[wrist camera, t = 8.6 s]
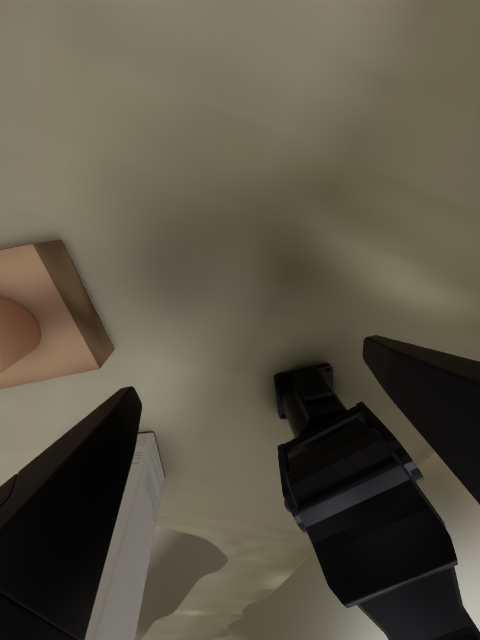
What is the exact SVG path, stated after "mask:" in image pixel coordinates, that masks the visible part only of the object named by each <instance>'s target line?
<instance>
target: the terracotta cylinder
mask: <svg viewBox="0 0 480 640" xmlns="http://www.w3.org/2000/svg"><path fill="white" fill-rule="evenodd" d="M40 337H41V333H40V328H39V326H38V323H37V322H36V320H35V318H34V317H33V316H32V315H31V313H30V312H29V311H27V310H26V309H25V308H24V307H23V306H21V305H20V304H18V303H17V302H15V301H13V300H11V299H8V298H5V297H2V296H0V374H1V373H2V372H4V371H5V370H7V369H8V368H9V367H11V366H12V365H14V364H15V363H16V362H18V361H19V360H21V359H22V358H24V357H25V356H26V355H28V354H29V353H31V352H32V351H33V350H35V349H36V347H37V346H38V344H39V342H40Z"/></svg>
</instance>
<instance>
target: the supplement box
mask: <svg viewBox="0 0 480 640" xmlns="http://www.w3.org/2000/svg"><path fill="white" fill-rule="evenodd" d="M163 483H164V473H163V469H162V465H161V461H160V457H159V453H158V449H157V445H156V441H155V437H154V433H153V432H152V433H142V434H138V437H137V443H136V448H135V452H134V456H133V460H132V464H131V468H130V471H129V475H128V479H127V483H126V486H125V490H124V494H123V498H122V501H121V505H120V509H119V513H118V516H117V520H116V524H115V528H114V531H113V535H112V539H111V543H110V547H109V550H108V554H107V558H106V562H105V565H104V569H103V573H102V577H101V580H100V584H99V588H98V592H97V595H96V599H95V603H94V607H93V610H92V614H91V618H90V622H89V625H88V629H87V633H86V637H85V640H135V634H136V629H137V623H138V618H139V613H140V607H141V602H142V596H143V591H144V585H145V579H146V575H147V569H148V564H149V558H150V553H151V548H152V542H153V537H154V531H155V526H156V521H157V515H158V510H159V504H160V499H161V494H162V488H163Z"/></svg>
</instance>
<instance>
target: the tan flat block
mask: <svg viewBox="0 0 480 640" xmlns="http://www.w3.org/2000/svg"><path fill="white" fill-rule="evenodd" d="M0 296H2V297H5V298H8V299H11V300H13V301H15V302H17V303H18V304H20V305H21V306H23V307H24V308H25V309H26V310H27V311H29V312H30V313H31V315H32V316H33V317H34V318H35V320H36V322H37V323H38V326H39V328H40V333H41V337H40V342H39V344H38V346H37V347H36V349H35V350H33V351H32V352H31V353H29V354H28V355H26V356H25V357H24V358H22V359H21V360H19V361H18V362H16V363H15V364H14V365H12V366H11V367H9V368H8V369H7V370H5V371H4V372H2V373H1V374H0V389H4V388H8V387H13V386H18V385H23V384H28V383H33V382H38V381H43V380H47V379H52V378H57V377H62V376H67V375H72V374H77V373H82V372H86V371H91V370H96V369H100V368H101V366H102V365H103V364H104V362H105V361H106V360H107V359H108V357H109V356H110V355H111V353H112V352H113V351H114V348H113V346H112V344H111V342H110V340H109V338H108V336H107V334H106V332H105V330H104V328H103V325H102V323H101V321H100V319H99V317H98V315H97V313H96V311H95V309H94V307H93V305H92V303H91V301H90V299H89V296H88V294H87V292H86V290H85V288H84V286H83V284H82V282H81V280H80V278H79V276H78V274H77V272H76V269H75V267H74V265H73V263H72V261H71V259H70V257H69V255H68V253H67V251H66V249H65V247H64V245H63V243H62V240H59V241H51V242H44V243H36V244H30V245H24V246H19V247H14V248H8V249H3V250H0Z"/></svg>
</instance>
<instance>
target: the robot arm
mask: <svg viewBox="0 0 480 640" xmlns="http://www.w3.org/2000/svg"><path fill="white" fill-rule="evenodd" d="M363 359H364V361H365V363H366V364H367V366H368V367H369V369H370V370H371V371H372V373H373V374H374V376H375V377H376V379H377V380H378V382H379V383H380V385H381V386H382V388H383V389H384V390H385V392H386V393H387V394H388V396H389V397H390V398H391V399H392V401H393V402H394V403H395V404H396V405H397V407H398V408H399V409H400V410H401V411H402V412H403V414H404V415H405V416H406V417H407V418H408V420H409V421H410V422H411V423H412V424H413V426H414V427H415V428H416V429H417V430H418V432H419V433H420V434H421V435H422V436H423V437H424V439H425V440H426V441H427V442H428V443H429V445H430V446H431V447H432V448H433V449H434V451H435V452H436V453H437V454H438V455H439V456H440V458H441V459H442V460H443V461H444V462H445V464H446V465H447V466H448V467H449V468H450V470H451V471H452V472H453V473H454V474H455V476H456V477H457V478H458V479H459V480H460V481H461V482H462V484H463V485H464V486H465V487H466V489H467V490H468V491H469V492H470V493H471V495H472V496H473V497H474V498H475V499H476V500H477V502H478V503H479V504H480V362H479V361H475V360H471V359H467V358H463V357H459V356H455V355H451V354H448V353H444V352H440V351H436V350H432V349H428V348H424V347H420V346H416V345H413V344H409V343H405V342H401V341H397V340H393V339H389V338H385V337H381V336H377V335H374V336H369V337H366V338H365V339H364V344H363ZM327 368H328V369H327ZM278 378H280V379H279V380H277V379H278ZM274 384H275V392H276V399H277V407H278V414H279V417H280V419H288V421H289V424H290V427H291V429H292V432H293V434H294V437H295V438H294V439H293V440H291V441H289V442H287V443H285V444H281V445H279V446H278V454H279V455H278V459H279V467H280V475H281V484H282V492H283V496H284V498H285V499H284V503H285V507H286V509H287V510H288V511H289V512H290V513H292V515H293V517H294V519H295V521H296V523H297V524H298V526H299V527H300V529H301V530H302V531H303V532H304V533H306V534H307V533H308V535H309V537H310V540H311V542H312V544H313V547H314V549H315V552H316V555H317V557H318V560H319V562H320V565H321V568H322V571H323V573H324V576H325V579H326V581H327V584H328V586H329V587H330V589H331V590H332V591H333V593H334V594H335V595H336V596H337V597H338V599H339V600H340V601H341V603H342V604H343V605H344V606H345V607H346V608H350V607H352V606H354V605H357V606H358V607H359V608H360V609H361V610H362V611H363V612H364V613H365V614H366V615H367V616H368V617H369V618H370V619H371V620H372V621H373V622H374V623H375V624H376V625H377V626H378V627H379V628H380V629H381V630H382V631H383V632H384V633H385V635H386V636H387V638H388V639H389V640H480V632H479V630H478V628H477V627H476V625H475V624H474V622H473V621H472V619H471V618H470V616H469V615H468V613H467V612H466V610H465V608H464V607H463V604H462V599H461V595H460V590H459V586H458V581H457V577H456V572H455V568H454V566H455V565H457V564H458V562H457V557H456V554H455V550H454V547H453V544H452V540H451V537H450V535H449V533H448V532H447V530H446V528H445V524H444V522H443V521H442V519H441V517H440V516H439V514H438V513H437V512H436V510H435V509H434V507H433V506H432V505H431V503H430V502H429V500H428V499H427V498H426V496H425V495H424V493H423V492H422V491H421V489H420V488H419V487H418V485H417V483H418V482H420V481H422V480H424V477H423V475H422V474H421V472H420V470H419V469H418V467H417V466H416V464H415V463H414V461H413V460H412V459H411V457H410V456H409V454H408V453H407V452H406V450H405V449H404V448H403V446H402V445H401V444H400V443H399V441H398V440H397V439H396V438H395V436H394V435H393V434H392V433H391V432H390V431H389V430H388V429H387V427H386V426H385V425H384V424H383V423H382V422H381V421H380V420H379V419H378V418H377V417H376V416H375V415H374V414H373V413H372V412H371V411H370V409H369V408H368V407H367V406H366V405H365V404H364V403H363V402H362V401H361V402H360V403H358V404H356V406H355V407H353V408H351V409H349V410H347V409H346V407H345V406H344V405H343V403H342V402H341V400H340V399H339V398H338V396H337V395H336V393H335V392H334V391H333V368H332V366H331V365H330V364H323V365H319V366H314V367H309V368H305V369H300V370H295V371H290V372H286V373H281V374H277V375H275V376H274ZM141 411H142V403H141V401H140V398H139V396H138V394H137V392H136V390H135V388H134V387H132V386H130V387H125V388H121V389H120V390H118V391H117V392H116V393H115V394H113V395H112V396H111V397H110V398H108V399H107V400H106V401H105V402H104V403H102V404H101V405H100V406H99V407H97V408H96V409H95V410H94V411H93V412H91V413H90V414H89V415H88V416H86V417H85V418H84V419H83V420H81V421H80V422H79V423H78V424H77V425H75V426H74V427H73V428H72V429H70V430H69V431H68V432H67V433H66V434H64V435H63V436H62V437H61V438H59V439H58V440H57V441H56V442H54V443H53V444H52V445H51V446H50V447H48V448H47V449H46V450H45V451H43V452H42V453H41V454H40V455H39V456H37V457H36V458H35V459H34V460H32V461H31V462H30V463H29V464H27V465H26V466H25V467H24V468H23V469H21V470H20V471H19V472H18V474H15V475H14V476H13V477H11V478H10V479H9V480H8V481H7V482H5V483H4V484H3V485H2V486H0V640H85V637H86V633H87V629H88V625H89V622H90V618H91V614H92V610H93V607H94V603H95V599H96V595H97V592H98V588H99V584H100V580H101V577H102V573H103V569H104V565H105V562H106V558H107V554H108V550H109V547H110V543H111V539H112V535H113V531H114V528H115V524H116V520H117V516H118V513H119V509H120V505H121V501H122V498H123V494H124V490H125V486H126V483H127V479H128V475H129V471H130V468H131V464H132V460H133V456H134V452H135V448H136V443H137V437H138V430H139V424H140V417H141Z"/></svg>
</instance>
